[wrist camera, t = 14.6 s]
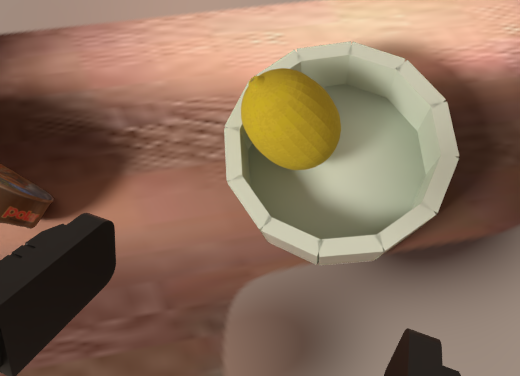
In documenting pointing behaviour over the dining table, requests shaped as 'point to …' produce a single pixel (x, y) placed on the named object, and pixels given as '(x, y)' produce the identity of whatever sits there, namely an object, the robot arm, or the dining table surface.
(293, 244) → the bowl
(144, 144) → the dining table surface
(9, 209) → the tin
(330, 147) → the lemon
